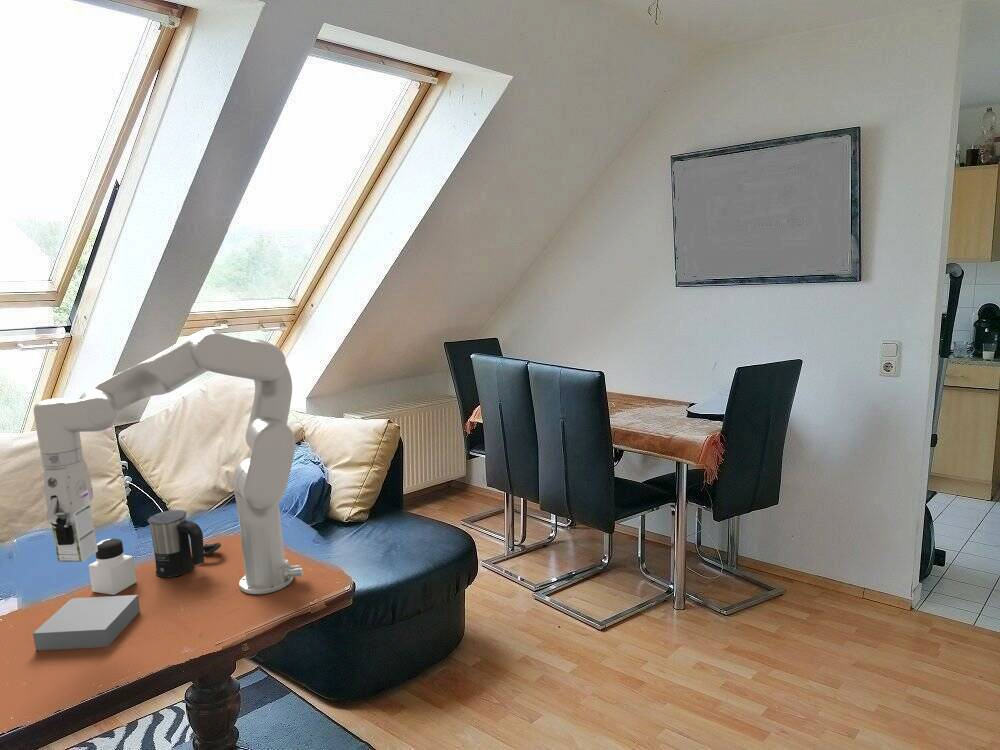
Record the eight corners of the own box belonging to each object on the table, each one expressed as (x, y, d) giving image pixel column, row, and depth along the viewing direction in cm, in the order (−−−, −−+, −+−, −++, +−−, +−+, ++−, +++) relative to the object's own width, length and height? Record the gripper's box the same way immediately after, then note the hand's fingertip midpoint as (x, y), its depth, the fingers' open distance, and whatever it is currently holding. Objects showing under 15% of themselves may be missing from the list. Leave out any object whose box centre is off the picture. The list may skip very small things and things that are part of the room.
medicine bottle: (137, 582, 184) (130, 537, 182) (114, 595, 178) (107, 549, 175) (115, 579, 187) (108, 534, 184) (91, 592, 180) (84, 546, 178)
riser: (140, 610, 170) (137, 594, 169) (108, 646, 155) (105, 629, 154) (74, 614, 169) (71, 598, 169) (35, 650, 155) (32, 633, 154)
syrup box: (99, 551, 161) (89, 488, 159) (81, 562, 156) (71, 497, 153) (74, 551, 162) (64, 488, 159) (56, 562, 156) (45, 497, 153)
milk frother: (148, 579, 186) (140, 523, 183) (175, 552, 201) (168, 501, 199) (204, 576, 186) (197, 521, 183) (227, 550, 201) (221, 498, 198)
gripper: (57, 469, 146) (71, 554, 150) (101, 444, 163) (112, 521, 167) (19, 471, 146) (33, 555, 149) (67, 446, 163) (79, 523, 166)
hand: (75, 536), depth 158 cm, fingers closed on syrup box, 6 cm apart
